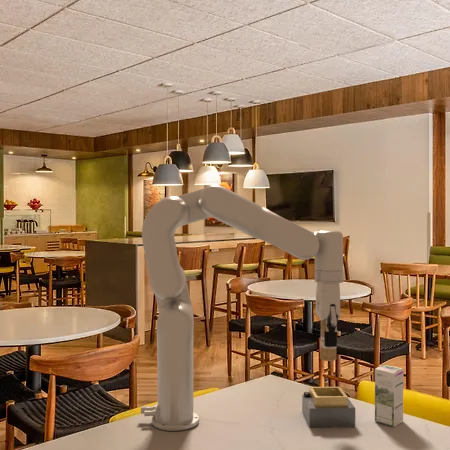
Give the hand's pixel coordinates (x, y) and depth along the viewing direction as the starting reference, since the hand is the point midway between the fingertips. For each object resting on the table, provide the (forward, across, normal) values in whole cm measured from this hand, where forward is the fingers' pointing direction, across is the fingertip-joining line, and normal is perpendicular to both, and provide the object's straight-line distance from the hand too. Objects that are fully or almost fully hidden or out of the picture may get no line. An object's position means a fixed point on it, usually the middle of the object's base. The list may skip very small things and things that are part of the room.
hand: (328, 343), depth 148 cm
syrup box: (+21, +2, +16) cm, 26 cm away
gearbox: (+21, 0, 0) cm, 21 cm away
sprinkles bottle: (+5, 0, 0) cm, 5 cm away
